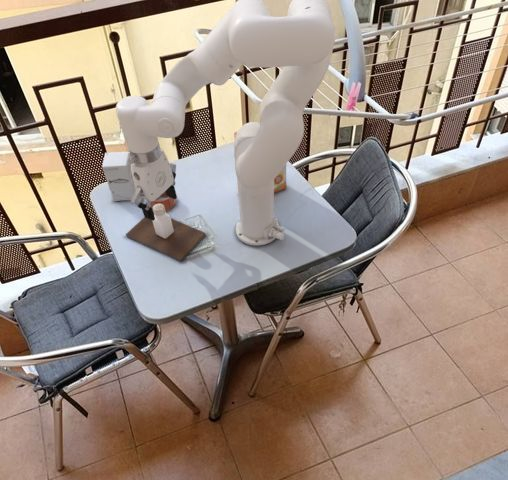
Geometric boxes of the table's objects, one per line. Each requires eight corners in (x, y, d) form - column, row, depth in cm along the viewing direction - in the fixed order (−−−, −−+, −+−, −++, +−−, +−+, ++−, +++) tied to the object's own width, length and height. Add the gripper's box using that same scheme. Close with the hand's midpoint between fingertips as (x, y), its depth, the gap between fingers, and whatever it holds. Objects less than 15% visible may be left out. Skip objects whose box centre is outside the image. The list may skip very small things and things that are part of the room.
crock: (180, 200, 144) (178, 189, 140) (164, 215, 140) (162, 204, 137) (160, 192, 146) (157, 181, 143) (144, 206, 142) (141, 196, 139)
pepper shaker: (165, 240, 132) (158, 214, 124) (155, 234, 134) (148, 208, 126) (175, 232, 134) (168, 205, 126) (164, 226, 135) (158, 200, 128)
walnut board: (206, 235, 134) (205, 232, 133) (181, 261, 129) (180, 259, 128) (152, 212, 141) (151, 210, 140) (126, 236, 135) (125, 234, 134)
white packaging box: (113, 202, 144) (100, 166, 134) (116, 187, 148) (104, 151, 138) (136, 200, 144) (126, 165, 134) (139, 185, 148) (129, 150, 138)
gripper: (133, 175, 107) (152, 231, 121) (178, 136, 115) (191, 193, 129) (109, 166, 110) (130, 222, 124) (155, 129, 117) (169, 185, 131)
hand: (161, 207), depth 126 cm, fingers open, 9 cm apart
